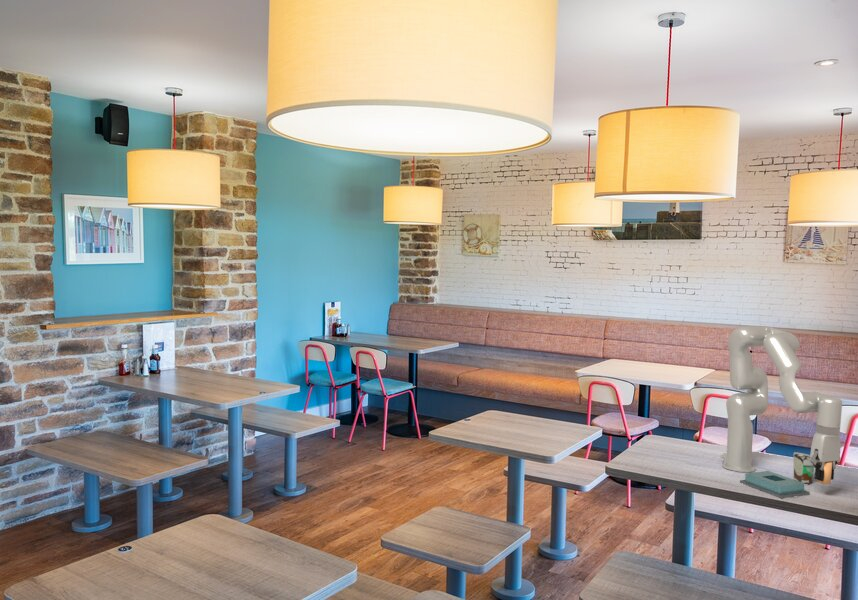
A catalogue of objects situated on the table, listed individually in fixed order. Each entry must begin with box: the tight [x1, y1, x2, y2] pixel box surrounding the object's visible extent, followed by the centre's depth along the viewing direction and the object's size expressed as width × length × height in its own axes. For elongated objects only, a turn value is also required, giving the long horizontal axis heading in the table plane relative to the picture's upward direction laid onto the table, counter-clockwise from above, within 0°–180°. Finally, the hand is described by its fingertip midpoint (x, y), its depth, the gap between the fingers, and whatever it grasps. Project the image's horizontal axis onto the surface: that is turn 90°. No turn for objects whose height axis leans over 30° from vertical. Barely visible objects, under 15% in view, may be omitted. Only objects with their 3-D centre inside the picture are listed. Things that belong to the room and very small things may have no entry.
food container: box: [792, 451, 815, 485], centre depth 265 cm, size 12×6×10 cm, turn 168°
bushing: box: [816, 459, 832, 485], centre depth 246 cm, size 4×4×8 cm
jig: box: [739, 470, 811, 499], centre depth 254 cm, size 19×14×4 cm
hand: (823, 478), depth 247 cm, fingers closed on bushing, 4 cm apart
